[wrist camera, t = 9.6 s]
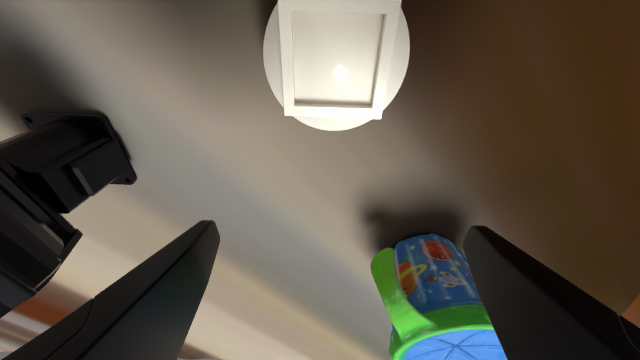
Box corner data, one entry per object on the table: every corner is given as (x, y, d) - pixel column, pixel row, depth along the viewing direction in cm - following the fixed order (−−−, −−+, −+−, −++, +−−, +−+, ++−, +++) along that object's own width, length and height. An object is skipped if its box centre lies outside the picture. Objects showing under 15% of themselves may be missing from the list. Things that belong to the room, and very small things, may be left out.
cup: (279, 110, 19) (268, 132, 15) (269, -25, 14) (250, -38, 11) (383, 114, 18) (395, 136, 15) (407, -21, 14) (432, -33, 11)
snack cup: (496, 265, 28) (567, 371, 20) (418, 298, 33) (448, 396, 24) (424, 188, 22) (481, 292, 14) (340, 241, 27) (344, 344, 18)
